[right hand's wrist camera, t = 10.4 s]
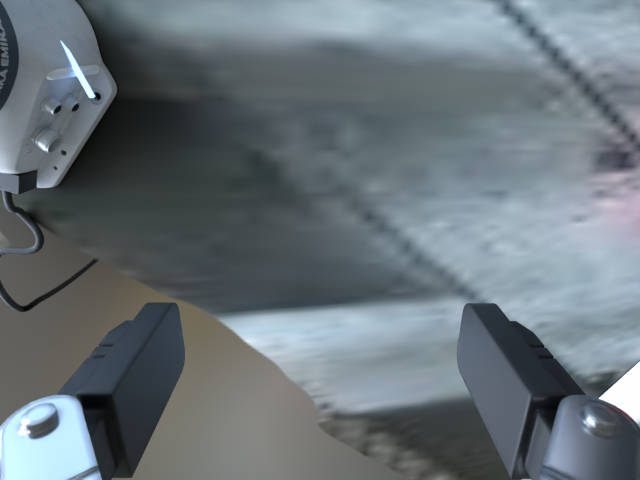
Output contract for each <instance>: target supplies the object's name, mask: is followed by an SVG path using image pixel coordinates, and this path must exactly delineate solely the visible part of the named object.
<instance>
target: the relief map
mask: <svg viewBox="0 0 640 480" xmlns="http://www.w3.org/2000/svg"><path fill="white" fill-rule="evenodd" d="M599 399H602V400H604V401H606V402H609V403H611V404H613V405H615V406H617V407H618V408H620V409H621V410H623V411H624V412H626V413H627V414H628V415H629V416H630V417H632V418H633V419H634V420H635V422H636V423H637V424H638V425H639V427H640V362H639V363H638V364H637V365H636V366H634V367H633V368H632V369H631V370H630V371H629V372H628V373H627V374H625V375H624V376H623V377H622V378H621V379H620V380H619V381H618V382H617V383H615V384H614V385H613V386H612V387H611V388H610V389H609V390H608V391H607V392H605V393H604V394H603V395H602V396H601V397H600V398H599ZM521 480H531V479H521Z"/></svg>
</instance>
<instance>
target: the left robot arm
mask: <svg viewBox="0 0 640 480" xmlns="http://www.w3.org/2000/svg"><path fill="white" fill-rule="evenodd" d="M97 93H99V94H100V95H101V99H100V100H99V99H98V98H97V97H96V94H97ZM116 94H117V86H116V83H115V81H114V79H113V77H112V75H111V74H110V72H109V71H108V69H107V68H106V66H105V65H104V63H103V61H102V59H101V55H100V52H99V48H98V44H97V40H96V36H95V33H94V31H93V28H92V26H91V24H90V22H89V20H88V18H87V16H86V15H85V13H84V11H83V10H82V8H81V7H80V6H79V4H78V3H77V2H76V1H75V0H0V189H1V190H2V193H3V200H4V203H5V206H6V208H7V209H8V211H10V212H12V213H17V214H18V215H19V216H20V217H21V218H22V219H23V220H24V221H25V222H26V224H27V225H28V226H29V227H30V228H31V229H32V231H33V232H34V234H35V237H36V243H35V245H34V246H33V247H29V248H15V247H7V248H1V249H0V257H1V256H2V255H4V254H33V253H36V252H38V251H39V250H40V249H41V248H42V246H43V244H44V237H43V233H42V231H41V229H40V228H39V226H38V225H37V224H36V222H35V221H34V220H33V219H32V218H31V217H30V216H29V215H28V214H27V213H26V212H25V211H24V210H23V209H22V208H20V207H17V206H15V205H14V204H13V200H12V194H11V192H12V193H15V194H21V193H24V192H26V191H29V190H32V189H34V188H49V187H54V186H57V185H58V184H59V183H60V182H61V181H62V179H63V177H64V176H65V174H66V173H67V171H68V170H69V168H70V167H71V165H72V163H73V162H74V160H75V159H76V157H77V156H78V154H79V152H80V151H81V149H82V148H83V146H84V145H85V143H86V141H87V140H88V138H89V137H90V135H91V134H92V132H93V130H94V129H95V127H96V126H97V124H98V123H99V121H100V120H101V118H102V116H103V115H104V113H105V112H106V110H107V109H108V107H109V105H110V104H111V102H112V101H113V99H114V98H115V96H116ZM98 261H99V260H98V259H96V258H94V259H93V260H92V261H91V262H89V263H88V264H87V265H85V266H84V267H83V268H82V269H81V270H79V271H78V272H77V273H75V274H74V275H73V276H72V277H70V278H69V279H68V280H66V281H65V282H63V283H62V284H60V285H59V286H57V287H56V288H54V289H52V290H51V291H49V292H47V293H45V294H43V295H42V296H40V297H38V298H36V299H35V300H34V301H32V302H31V303H29V304H28V305H26V306H20V305H18V304H17V303H16V302H15V301H14V300H12V298H11V297H10V296H9V295H8V293H7V292H6V291H5V289H4V287H3V285H2V283H1V281H0V297H1V298H2V299H3V300H4V302H5V303H6V304H7V305H9V306H10V307H11V308H12V309H14V310H15V311H18V312H26V311H29V310H31V309H32V308H34V307H35V306H36V305H38V304H39V303H41V302H42V301H44V300H46V299H47V298H49V297H51V296H53V295H54V294H56V293H57V292H59V291H60V290H62V289H63V288H65V287H66V286H68V285H69V284H70V283H72V282H73V281H74V280H76V279H77V278H78V277H79V276H81V275H82V274H83V273H84V272H86V271H87V270H88V269H89V268H90V267H92V266H93V265H94V264H95V263H96V262H98Z"/></svg>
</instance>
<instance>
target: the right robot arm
mask: <svg viewBox="0 0 640 480" xmlns="http://www.w3.org/2000/svg"><path fill="white" fill-rule="evenodd" d="M184 361H185V347H184V340H183V334H182V327H181V320H180V313H179V308H178V306H177V304H176V303H147V304H145V305H144V307H143V308H142V309H141V311H140V312H139V313H138V314H137V316H136V317H135V318H134V320H133V321H125V322H124V323H122V324H120V325H119V326H117V327H116V328H114V329H113V330H111V331H110V332H109V333H108V334H107V335H106V336H105V338H104V339H103V340H102V341H101V342H100V344H99V347H96V348H95V349H94V351H93V352H92V353H91V354H90V357H89V358H87V359H86V360H85V361H84V363H83V364H82V365H81V366H80V367H79V369H78V370H77V371H76V372H75V373H74V375H73V376H72V377H71V378H70V379H69V380H68V382H67V383H66V384H65V385H64V386H63V388H62V389H61V390H60V391H59V392H58V394H57V395H54V396H49V397H45V398H42V399H38V400H36V401H34V402H31V403H29V404H27V405H25V406H23V407H22V408H20V409H19V410H17V411H16V412H14V413H13V414H12V415H11V416H10V417H8V418H7V419H6V421H5V422H4V423H3V424H2V425H1V427H0V480H111V479H112V478H132V476H133V474H134V472H135V470H136V468H137V466H138V464H139V461H140V459H141V457H142V455H143V453H144V451H145V449H146V447H147V445H148V442H149V440H150V438H151V436H152V434H153V432H154V430H155V428H156V426H157V424H158V421H159V419H160V417H161V415H162V413H163V411H164V409H165V407H166V405H167V402H168V400H169V398H170V396H171V394H172V392H173V390H174V388H175V386H176V383H177V381H178V379H179V377H180V375H181V373H182V370H183V367H184ZM457 361H458V367H459V371H460V373H461V376H462V378H463V380H464V382H465V384H466V386H467V388H468V390H469V392H470V394H471V396H472V399H473V401H474V403H475V405H476V407H477V409H478V411H479V413H480V415H481V417H482V419H483V421H484V424H485V426H486V428H487V430H488V432H489V434H490V436H491V438H492V440H493V442H494V444H495V446H496V449H497V451H498V453H499V455H500V457H501V459H502V461H503V463H504V465H505V467H506V469H507V471H508V474H509V476H510V478H511V479H531V480H640V427H639V425H638V424H637V423H636V422H635V420H634V419H633V418H632V417H630V416H629V415H628V414H627V413H626V412H624V411H623V410H621V409H620V408H618V407H617V406H615V405H613V404H611V403H609V402H606V401H604V400H602V399H598V398H595V397H591V396H587V395H586V394H585V393H584V392H583V391H582V390H581V388H580V387H579V386H578V385H577V384H576V382H575V381H574V380H573V379H572V378H571V377H570V375H569V374H568V373H567V372H566V371H565V369H564V368H563V367H562V366H561V365H560V364H559V362H558V361H557V360H556V359H553V355H552V354H551V353H550V352H549V351H548V349H547V348H544V345H543V344H542V342H541V341H540V340H539V339H538V338H537V336H536V335H535V334H534V333H533V332H532V331H530V330H529V329H527V328H526V327H524V326H522V325H521V324H519V323H518V322H516V321H509V320H508V318H507V317H506V316H505V314H504V313H503V312H502V311H501V309H500V308H499V307H498V306H497V305H496V304H494V303H467V304H466V305H465V307H464V309H463V315H462V322H461V328H460V335H459V342H458V348H457Z"/></svg>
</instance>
